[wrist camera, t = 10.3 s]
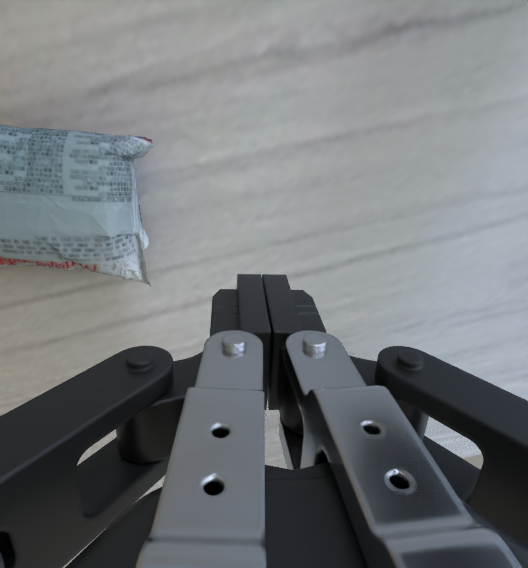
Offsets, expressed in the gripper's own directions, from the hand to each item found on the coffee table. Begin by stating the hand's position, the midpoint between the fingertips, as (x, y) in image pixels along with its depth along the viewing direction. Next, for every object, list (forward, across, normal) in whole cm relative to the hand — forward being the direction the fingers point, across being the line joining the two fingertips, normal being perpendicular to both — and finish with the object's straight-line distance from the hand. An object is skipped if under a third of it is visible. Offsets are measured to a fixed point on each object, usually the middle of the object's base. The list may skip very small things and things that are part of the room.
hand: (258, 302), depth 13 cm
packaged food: (+15, +11, +1) cm, 19 cm away
